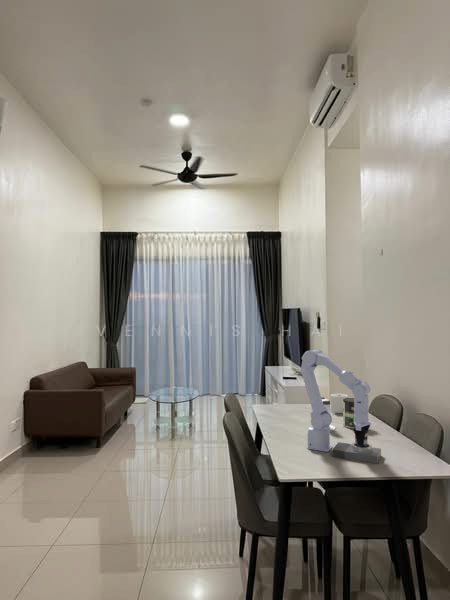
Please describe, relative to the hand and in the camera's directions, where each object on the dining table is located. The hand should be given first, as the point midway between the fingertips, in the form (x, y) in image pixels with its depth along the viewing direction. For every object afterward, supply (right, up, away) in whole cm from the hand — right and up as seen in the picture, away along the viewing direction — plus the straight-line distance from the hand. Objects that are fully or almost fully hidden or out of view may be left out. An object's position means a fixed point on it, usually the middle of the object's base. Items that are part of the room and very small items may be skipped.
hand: (361, 443), depth 178 cm
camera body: (-2, -6, +1) cm, 6 cm away
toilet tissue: (+13, -8, +81) cm, 83 cm away
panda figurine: (-5, -7, +46) cm, 46 cm away
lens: (0, -2, 0) cm, 2 cm away
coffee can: (+11, -7, +48) cm, 50 cm away
